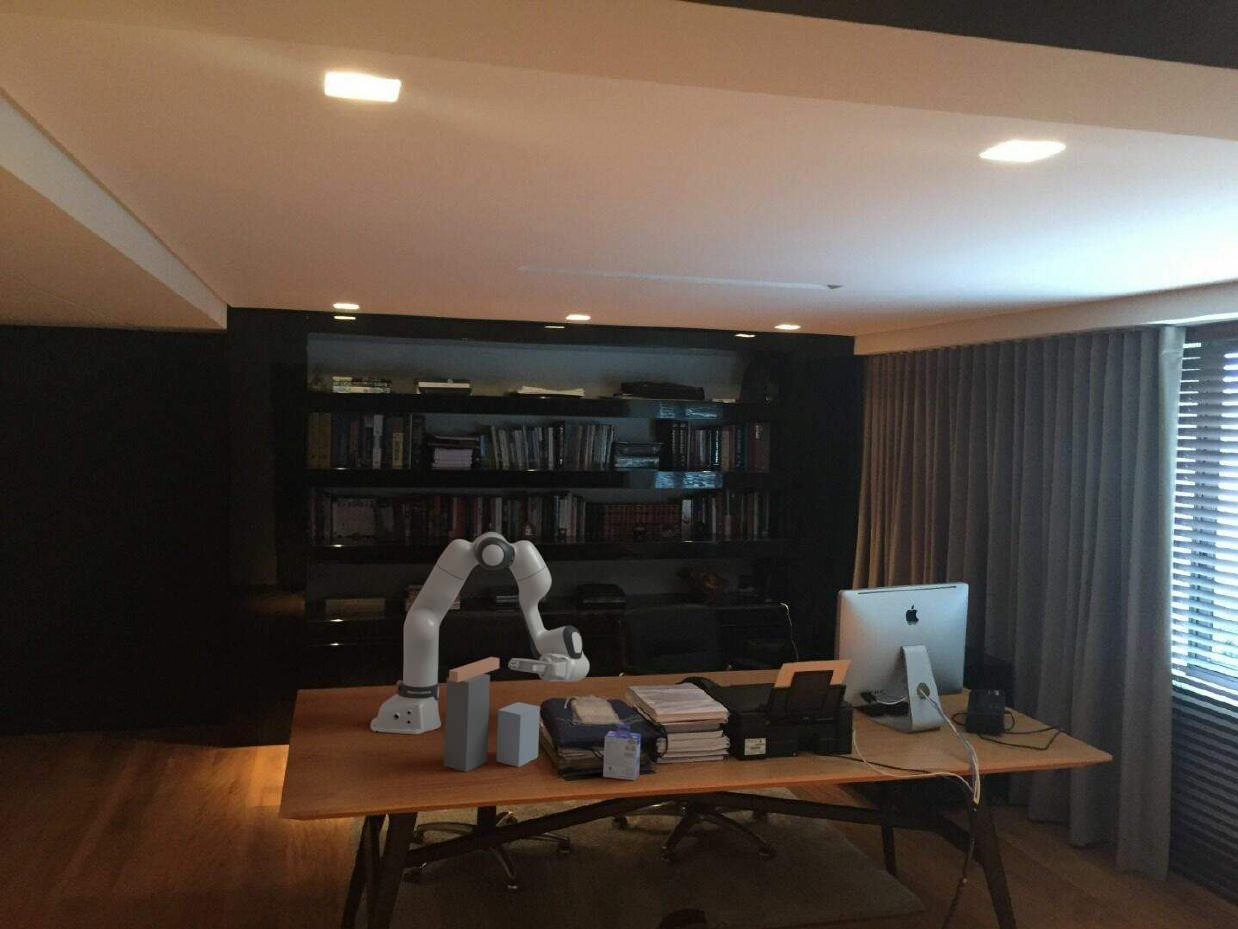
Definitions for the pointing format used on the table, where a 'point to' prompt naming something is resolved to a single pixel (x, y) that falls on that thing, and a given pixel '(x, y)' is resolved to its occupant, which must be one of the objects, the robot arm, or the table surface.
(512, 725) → the low block
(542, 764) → the table surface
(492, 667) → the bar
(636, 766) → the ink cartridge box
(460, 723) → the tall stand
